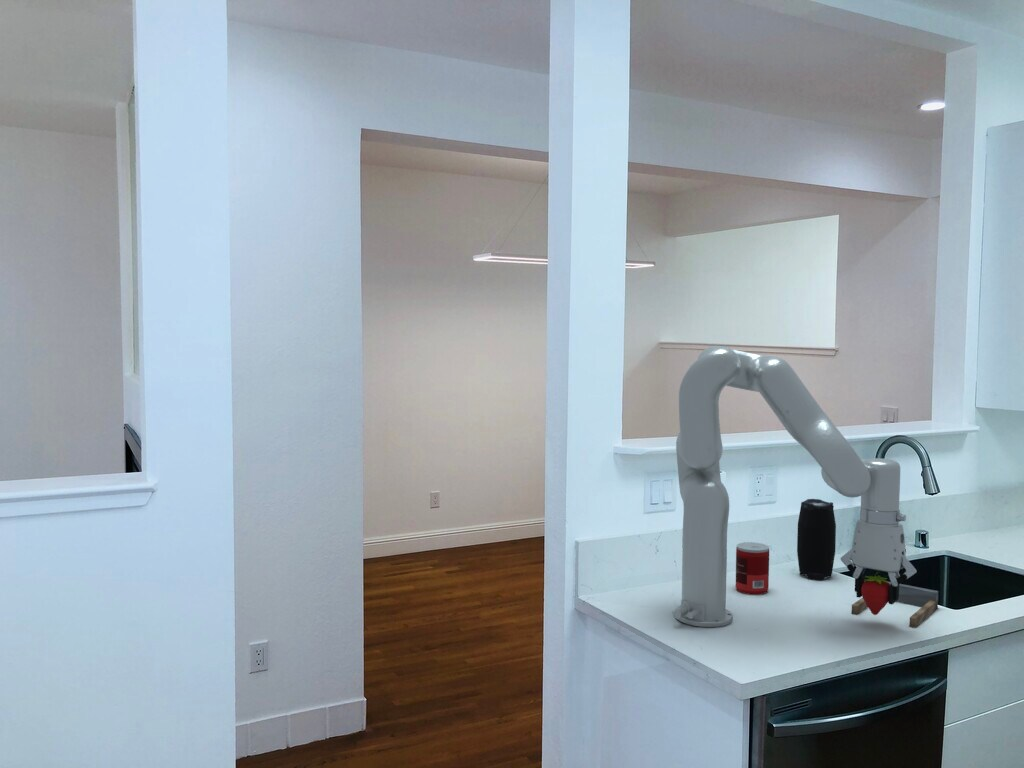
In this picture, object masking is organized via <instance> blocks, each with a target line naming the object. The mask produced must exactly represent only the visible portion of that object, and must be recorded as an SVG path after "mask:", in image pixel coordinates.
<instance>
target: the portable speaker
mask: <svg viewBox="0 0 1024 768" xmlns="http://www.w3.org/2000/svg"><path fill="white" fill-rule="evenodd" d="M834 506H835V505H834V502H829V501H825V500H823V499H820V498H807V499H806V500H803V501H801V503H800V509H799V514H798V515H799V516H798V520H797V540H796V553H797V562H798V563H797V564H798V572H799V575H805V576H806V578H808V579H809V580H812V581H825V579H826V578H832V574H833V569H834V563H835V562H834V561H835V557H836V556H835V555H836V540H837V539H836V538H837V537H836V533H837V530H836V529H837V524H836V517H835V510H834V508H835V507H834Z"/></svg>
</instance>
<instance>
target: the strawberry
mask: <svg viewBox="0 0 1024 768" xmlns="http://www.w3.org/2000/svg"><path fill="white" fill-rule="evenodd" d="M880 572H881V571H879V570H878V572H876V573H875V574H874V576H873V575H869V576H868V575H865V576H864V577H865V580H864V581H865V582H864V583H863V584H862V587H861V592H862V596H861V598H863V599H864V601H865V603H866V605H867V608H868V609H869V611H870V613H871V614H872V615H874V616H877V615H879V614H880V612H881V611H882V610H883V609H884V608H885V606H886V605H887V604H889V603H888V598H889V586H890V584H889V582H890V581H888V580H887V579H888V578H887V577H881V575H877V574H878V573H880ZM876 575H877V576H876ZM866 578H867V579H866Z"/></svg>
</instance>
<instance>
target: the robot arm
mask: <svg viewBox="0 0 1024 768" xmlns="http://www.w3.org/2000/svg"><path fill="white" fill-rule="evenodd" d="M725 387H731V388H735V389H739V390H745V391H750V392H756V393H759V394H760V395H761V396H762V398H763V400H764V401H765V402H766V404H767V405H768V406H769V408H770V409H771V410H772V412H773V413H774V414H775V416H776V417H777V419H778V421H779V422H780V423H781V424H782V425H783V427H784V428H785V430H786V432H787V433H789V435H790V436H791V437H792V439H794V440H795V441H796V442H797V443H798V444H799V445H801V446H802V447H803V448H804V449H805V450H806V451H807V452H808V453H809V454H810V456H811V457H812V458H813V459H814V460H815V461H816V463H817V464H818V465H819V467H820V468H821V470H820V472H821V477H822V479H823V482H824V483H825V484H826V485H827V486H828V487H830V488H831V489H832V490H833V491H836V492H837V493H839V494H840V495H841V496H844V497H846V498H858V497H860V510H859V511H860V512H859V513H860V515H859V516H860V517H859V518H858V519H857V521H856V524H855V527H854V532H853V538H852V543H851V549H849V550H848V551H847V552H846V553H845V554H843V555H842V556H840V562H842V563H843V564H844V566H846V568H847V570H848V572H849V573H851V575H852V578H853V579H854V592H855V593H856V598H859V599H861V598H862V592H861V587H862V584H863V583H864V582H865V581H864V580H866V577H865V576H864V573H865V572H866V569H869V570H874V571H878V572H879V571H880V572H884V573H885V572H886V573H887V574H888V577H889V580H890V582H891V585H890V586H889V598H888V603H887V604H889V605H893V604H895V603H897V602H896V600H898V599H899V584H902V583H903V582H905V581H906V580H908V579H909V578H911V577H912V576H914V575H915V574H917V569H916V568H915V566H914V565H913V564H912V563H911V562H910V561H909V560H908V558H907V555H906V553H907V552H906V551H907V550H906V539H905V538H906V537H905V531H904V526H903V524H901V523H900V522H906V520H907V515H906V514H902V513H901V510H900V494H901V493H900V492H901V491H900V490H901V465H900V463H899V462H898V461H897V460H893V459H889V458H881V457H880V458H879V457H878V458H877V457H876V458H873V457H872V458H861V457H860V456H859V454H857V452H856V451H855V449H854V448H853V446H852V445H851V444H850V442H849V441H848V440H847V439H846V438H845V437H844V435H843V433H841V431H840V430H839V429H838V428H837V427H836V425H835V424H834V422H832V420H831V418H830V417H829V416H828V415H827V413H826V412H825V411H824V410H823V409H822V407H821V406H820V404H818V402H817V401H816V399H815V397H813V395H812V394H811V392H810V391H809V390H808V388H807V386H806V385H805V384H804V382H803V381H802V379H800V377H799V376H798V374H797V373H796V371H795V370H794V369H793V368H792V365H790V364H789V363H788V361H786V360H785V359H783V358H782V357H778V356H771V355H765V354H757V353H752V352H746V351H741V350H737V349H732V348H730V347H727V346H722V345H721V346H720V345H713V346H710V347H707V348H705V349H704V350H702V351H701V352H700V354H699V356H698V357H697V359H696V360H695V361H694V362H693V363H692V364H691V365H690V366H689V368H688V369H687V371H686V372H685V374H684V376H683V378H682V379H681V382H680V386H679V391H678V414H679V415H678V417H679V418H678V421H679V433H678V434H677V436H676V442H675V450H676V451H675V452H676V453H675V454H676V463H677V474H678V485H679V493H680V497H681V500H682V503H683V517H682V518H683V519H682V540H681V541H682V542H681V543H682V551H681V552H682V554H681V555H682V558H681V561H682V564H681V568H682V569H681V601H680V605H678V606H677V607H676V608H675V609H674V610H673V612H672V614H673V618H675V619H676V620H678V621H679V622H681V623H683V624H686V625H690V626H695V627H700V628H701V627H702V628H717V627H719V628H720V627H725V626H728V625H729V624H731V623H732V622H733V619H734V615H733V613H732V612H731V611H730V610H729V609H727V605H726V604H727V570H728V569H727V564H728V562H727V559H728V556H727V555H728V552H727V551H728V549H727V548H728V546H727V543H728V526H729V525H728V524H729V515H730V497H729V493H728V491H727V488H726V486H725V485H724V483H723V482H722V479H721V478H722V477H721V470H720V469H721V467H720V465H721V464H720V461H721V458H722V455H723V449H724V448H723V443H722V442H723V441H722V436H721V427H720V425H721V424H720V407H719V402H720V396H721V393H722V391H723V390H724V388H725ZM903 569H905V571H904V573H903V574H900V573H899V572H900V570H903Z"/></svg>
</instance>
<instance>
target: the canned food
mask: <svg viewBox="0 0 1024 768" xmlns="http://www.w3.org/2000/svg"><path fill="white" fill-rule="evenodd" d="M735 549H736V550H735V588H736V590H737V592H740V593H741V594H746V595H751V596H753V595H756V596H757V595H758V596H759V595H765V594H766V593H767V592H768V590H769V584H770V583H769V581H770V579H769V578H770V577H769V575H770V546H769V545H767V544H764V543H761V542H753V541H751V542H750V541H747V542H746V541H745V542H740V543H737V544H736V548H735Z"/></svg>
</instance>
